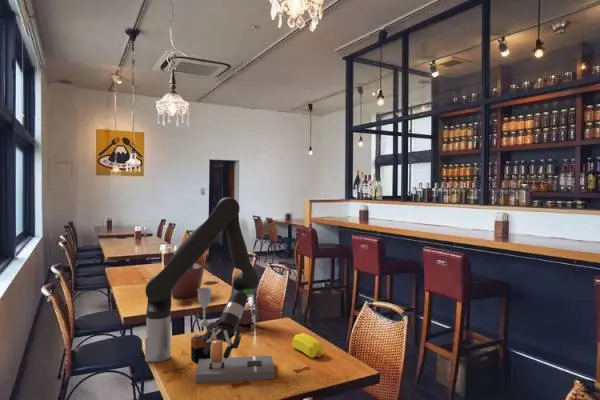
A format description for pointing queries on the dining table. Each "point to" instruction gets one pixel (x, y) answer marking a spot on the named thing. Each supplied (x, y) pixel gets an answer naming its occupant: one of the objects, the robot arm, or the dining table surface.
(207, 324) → the chalice
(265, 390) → the dining table surface
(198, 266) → the bucket
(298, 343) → the yellow faceted prism
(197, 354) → the battery
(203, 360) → the grey peg board
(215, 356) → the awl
